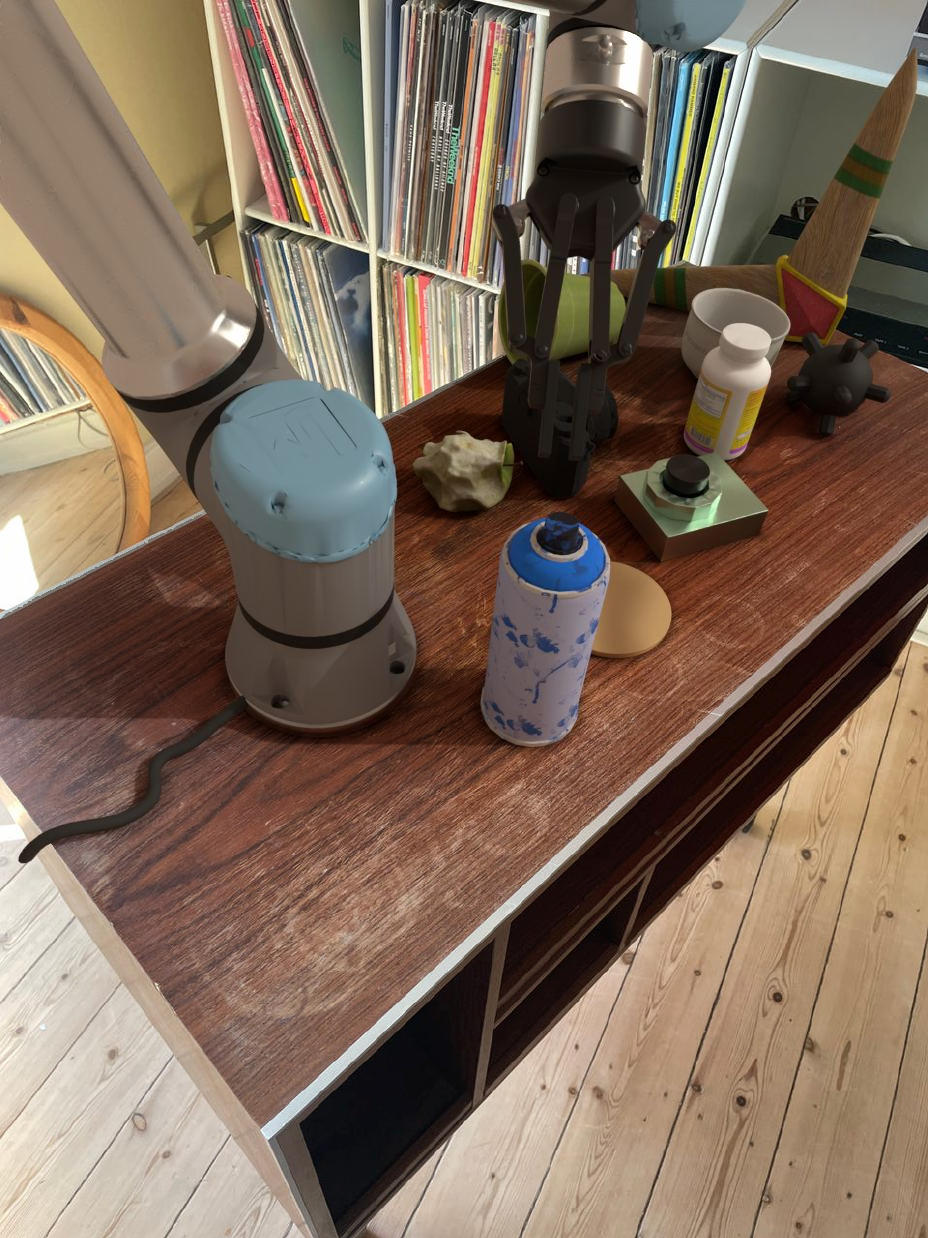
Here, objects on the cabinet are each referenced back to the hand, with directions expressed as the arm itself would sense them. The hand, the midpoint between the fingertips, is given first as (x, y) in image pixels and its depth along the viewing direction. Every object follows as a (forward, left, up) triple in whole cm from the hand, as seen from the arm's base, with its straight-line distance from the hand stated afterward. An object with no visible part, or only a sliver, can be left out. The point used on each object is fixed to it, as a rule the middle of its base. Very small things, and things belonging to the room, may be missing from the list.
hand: (559, 456), depth 67 cm
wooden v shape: (+38, +26, +8) cm, 47 cm away
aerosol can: (-4, -8, -18) cm, 20 cm away
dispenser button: (+18, +7, -13) cm, 24 cm away
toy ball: (+46, +21, -15) cm, 53 cm away
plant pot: (+27, +36, -14) cm, 47 cm away
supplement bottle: (+29, +16, -18) cm, 38 cm away
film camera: (+13, +20, -18) cm, 30 cm away
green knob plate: (+20, +7, -18) cm, 28 cm away
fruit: (+1, +17, -18) cm, 25 cm away
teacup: (+36, +25, -18) cm, 48 cm away
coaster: (+7, -1, -18) cm, 19 cm away
